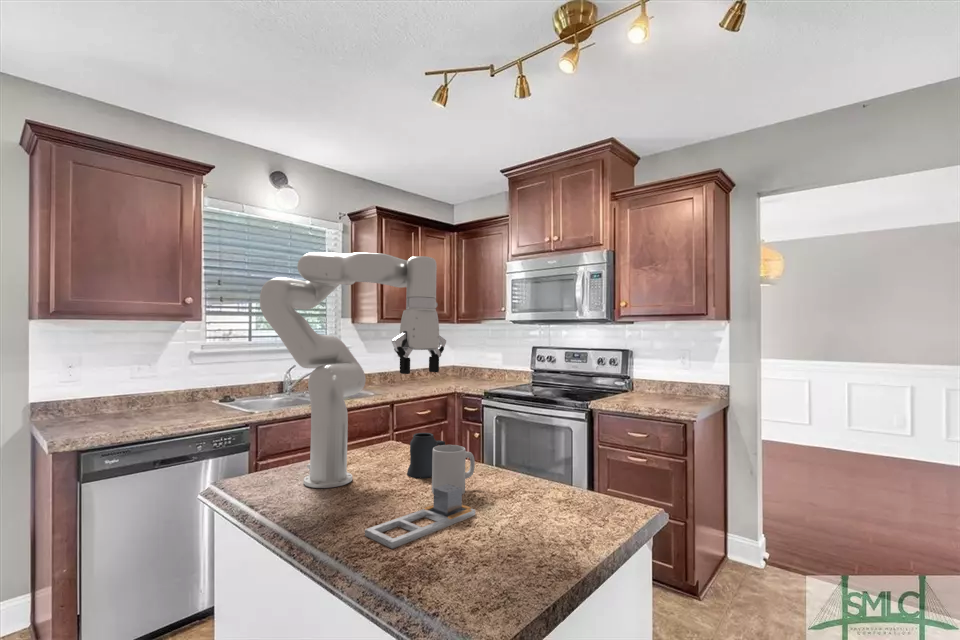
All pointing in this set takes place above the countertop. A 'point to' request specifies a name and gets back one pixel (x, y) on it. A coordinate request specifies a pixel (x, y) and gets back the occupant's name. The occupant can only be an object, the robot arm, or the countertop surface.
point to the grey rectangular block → (447, 500)
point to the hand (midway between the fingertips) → (419, 372)
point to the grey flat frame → (415, 526)
